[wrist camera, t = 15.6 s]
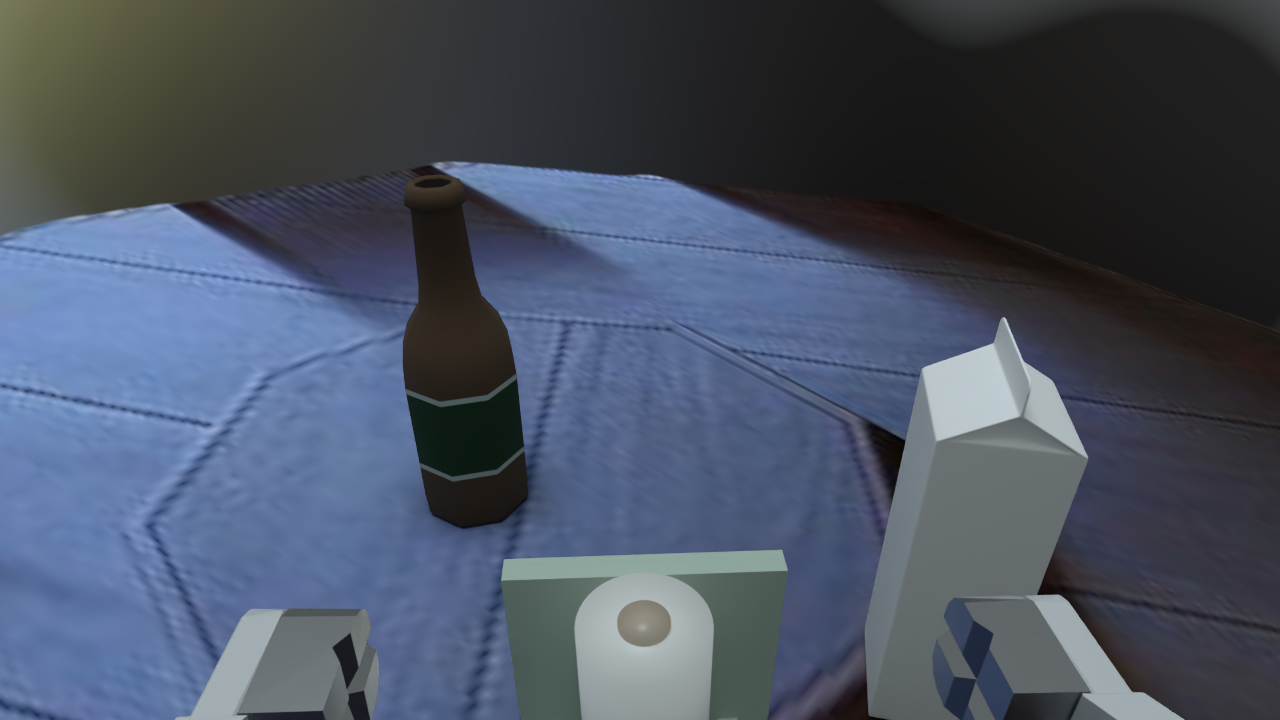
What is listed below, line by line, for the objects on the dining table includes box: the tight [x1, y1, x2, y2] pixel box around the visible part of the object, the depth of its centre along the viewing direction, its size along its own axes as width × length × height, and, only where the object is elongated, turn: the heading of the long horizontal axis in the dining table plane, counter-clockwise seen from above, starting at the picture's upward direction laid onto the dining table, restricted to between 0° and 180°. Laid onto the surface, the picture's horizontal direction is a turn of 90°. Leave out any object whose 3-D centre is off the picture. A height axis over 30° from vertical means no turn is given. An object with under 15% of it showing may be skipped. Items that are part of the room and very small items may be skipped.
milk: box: [865, 318, 1088, 720], centre depth 38 cm, size 6×6×22 cm
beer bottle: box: [403, 175, 528, 528], centre depth 51 cm, size 8×8×24 cm
